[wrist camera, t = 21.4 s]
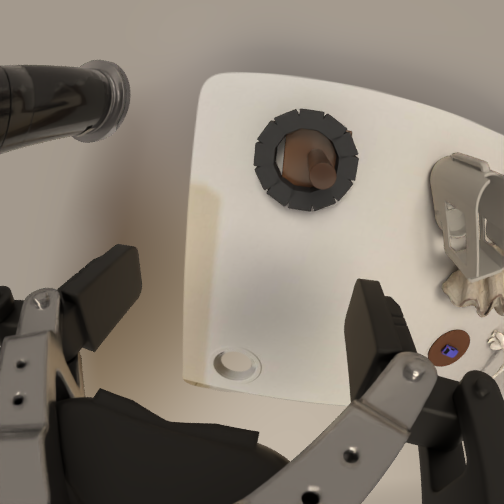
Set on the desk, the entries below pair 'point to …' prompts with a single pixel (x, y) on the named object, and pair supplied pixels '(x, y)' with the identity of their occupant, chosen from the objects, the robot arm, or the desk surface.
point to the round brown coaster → (449, 348)
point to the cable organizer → (470, 213)
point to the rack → (309, 159)
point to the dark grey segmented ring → (298, 194)
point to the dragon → (497, 347)
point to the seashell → (477, 291)
